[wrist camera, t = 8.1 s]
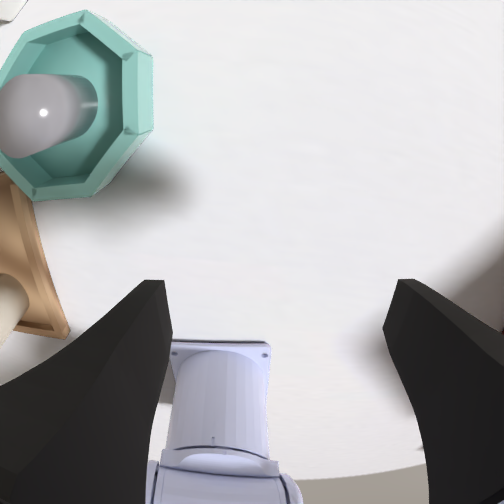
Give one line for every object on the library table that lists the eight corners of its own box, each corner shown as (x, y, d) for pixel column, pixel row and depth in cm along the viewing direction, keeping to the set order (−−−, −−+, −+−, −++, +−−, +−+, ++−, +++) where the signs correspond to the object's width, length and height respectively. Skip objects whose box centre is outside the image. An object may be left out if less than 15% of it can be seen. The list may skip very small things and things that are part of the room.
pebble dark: (96, 139, 15) (50, 157, 11) (43, 141, 15) (-7, 160, 10) (100, 71, 13) (53, 67, 9) (45, 79, 13) (-7, 82, 9)
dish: (156, 180, 17) (143, 194, 15) (22, 191, 17) (1, 205, 14) (155, 9, 12) (141, -4, 10) (14, 49, 12) (-10, 48, 10)
